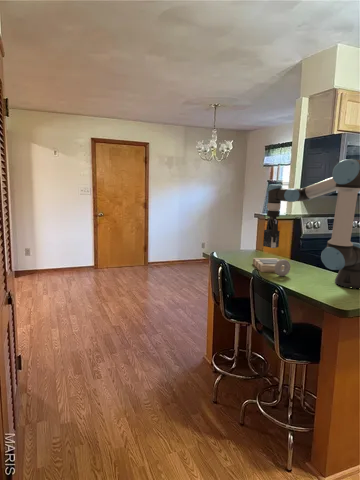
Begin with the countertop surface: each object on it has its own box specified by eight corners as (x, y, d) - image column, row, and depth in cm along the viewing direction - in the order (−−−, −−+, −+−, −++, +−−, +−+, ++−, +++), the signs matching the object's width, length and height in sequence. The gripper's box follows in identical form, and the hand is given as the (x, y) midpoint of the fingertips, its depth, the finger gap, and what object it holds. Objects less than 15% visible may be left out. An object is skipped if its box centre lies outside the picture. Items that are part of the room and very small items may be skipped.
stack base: (287, 272, 196) (287, 265, 195) (261, 272, 195) (261, 265, 195) (276, 264, 216) (277, 257, 215) (252, 263, 215) (253, 257, 214)
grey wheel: (287, 274, 191) (288, 258, 189) (291, 276, 188) (292, 259, 186) (272, 275, 188) (274, 259, 186) (276, 277, 185) (277, 260, 183)
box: (278, 247, 202) (280, 230, 200) (273, 248, 199) (274, 231, 197) (268, 245, 208) (269, 228, 206) (262, 246, 204) (263, 229, 203)
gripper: (262, 208, 210) (260, 242, 214) (272, 211, 188) (270, 249, 192) (274, 208, 210) (271, 242, 214) (285, 211, 188) (282, 249, 192)
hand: (270, 245), depth 203 cm, fingers closed on box, 9 cm apart
